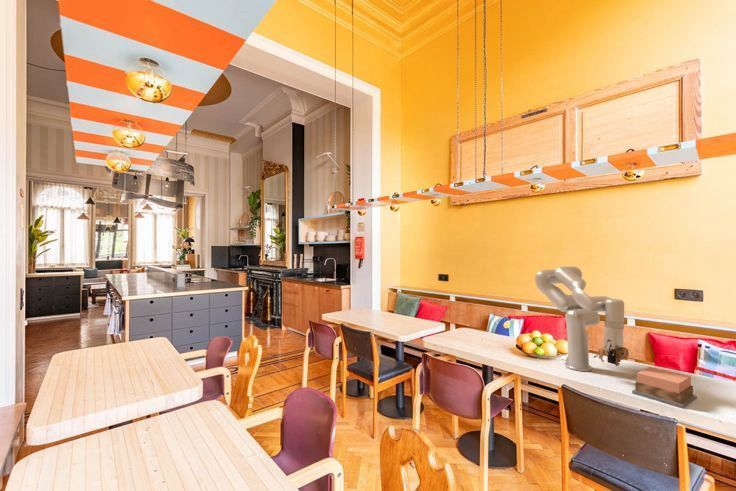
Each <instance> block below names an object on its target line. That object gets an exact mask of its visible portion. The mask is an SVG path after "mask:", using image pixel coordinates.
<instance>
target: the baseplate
mask: <svg viewBox="0 0 736 491" xmlns="http://www.w3.org/2000/svg"><path fill="white" fill-rule="evenodd" d="M631 394H633V395H636V396H640V397H642V398H647V399H650V400H653V401H656V402H659V403H664V404H667V405H669V406H673V407H677V408H680V409H685V408H686V407H688V406H689V405H690V404H692V403H693V402H695V401H696V400H697V399H698V395H696V394H693V396H692V397H690V398H689V399H687V400H686V401H684V402H683V403H681V404H679V403H675V402H672V401H669V400H665V399H662V398H658V397H655V396H651V395H648V394H645V393H641V392H638V391H636V388H635V389H632V390H631Z"/></svg>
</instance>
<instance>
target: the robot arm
mask: <svg viewBox="0 0 736 491" xmlns="http://www.w3.org/2000/svg"><path fill="white" fill-rule="evenodd" d="M582 277H583V271H582V270H581V269H580V268H579V267H578V266H560V267H557V268H555V269H542V270H539V271H537V272H536V273H535V276H534V281H535V285H536V287H537V289H538V290H539V291H540V292H541V293H542V294H543V295H544V296H545V297H547V299H548V300H549V301H550V302H551V303H552V304H553V305H554V306H555V307H556V309H558V310H559V311H560V312H562V313H565V315H564V320H565V325H566V330H567V331H566V332H567V356H565V355H562V356H561V361H564V362H565V363H564V366H565V367H566V368H568V369H570V370H573V371H578V372H591V371H593V367H592V365H590V360H589V359H590V356H589V354H590V352H589V334H588V331H587V329H586V328H585V327H592V326H596V325H598V324H600V322H601V318H600V317H601V316H600V314H599V312H604V332H603V333H604V334H603V346H602V347H605V348H606V351H607V354H608V356H607V355H606V356H607V359H606V360H607V363H608V364H612V365H615V364H616V356H615V350H616V349H618V348H620V347H624V331H623V330H624V329H625V302H624V300H622V299H618V298H612V297H609V296H606V295H605V296H604V295H600V296H599V295H598V296H597V295H596V296H590V295H589V294H587V293H586V292H585V291H584V290H585V288H586V285H587V282H586V281H585V280H584V279H583V278H582ZM555 284H562V285H563V286H565V287H566V288H567V289H568V290H569V291H571V294H566V293H565V292H564V291H563V290H562V289H561V288H560V287H558V286H556V285H555ZM611 350H613V352H612V351H611ZM621 361H622V360H619V362H618V363H620V362H621Z"/></svg>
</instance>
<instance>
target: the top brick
mask: <svg viewBox="0 0 736 491" xmlns="http://www.w3.org/2000/svg"><path fill="white" fill-rule="evenodd" d="M636 375H637V376H636V377H637V378H636V380H637V382H639V383H643V384H647V385H650V386H654V387H658V388H661V389H665V390H669V391H672V392H676V393H681V392H682V391H684V390H685V389H687V388H688V387H690V386H692V377H691V375H686V374H681V373H677V372H673V371H669V370H665V369H660V368H656V367H653V366H649V367H647V368H645V369H643V370H641V371H638V372H637V374H636Z"/></svg>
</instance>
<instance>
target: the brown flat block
mask: <svg viewBox="0 0 736 491" xmlns="http://www.w3.org/2000/svg"><path fill="white" fill-rule="evenodd" d="M635 389H636V391H638V392H641V393H645V394H648V395H651V396H655V397H658V398H662V399H665V400H669V401H672V402H675V403H679V404H681V403H683V402H684V401H686V400H687V399H689V398H690V397H692V396H693V395H694V386H693V385H691V386H690V387H688V388H687V389H685V390H684V391H682V392H681V393H676V392H672V391H669V390H665V389H661V388H658V387H654V386H650V385H647V384H643V383H639V382H637V381H635Z"/></svg>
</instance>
